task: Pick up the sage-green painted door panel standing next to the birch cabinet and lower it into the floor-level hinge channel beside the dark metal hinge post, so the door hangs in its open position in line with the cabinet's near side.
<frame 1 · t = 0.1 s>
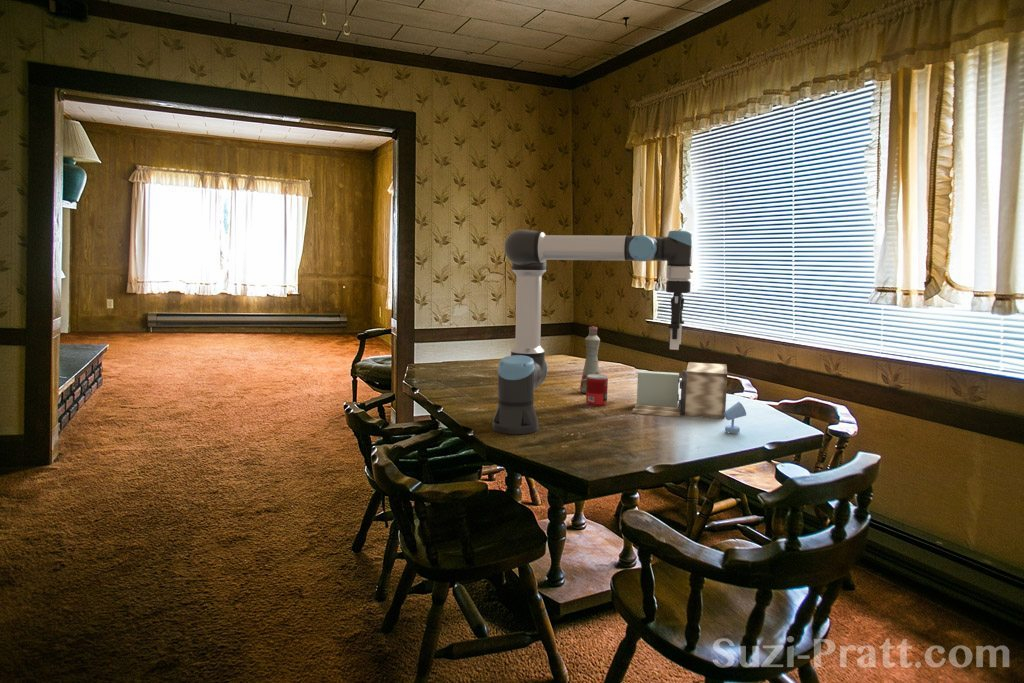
hand: (675, 346, 212), 28 cm above the table, fingers open, 13 cm apart
bottle: (590, 393, 275), on the table
canned food: (596, 404, 254), on the table
cabinet: (704, 410, 246), on the table
spotlight: (733, 432, 216), on the table
door: (657, 406, 252), on the table
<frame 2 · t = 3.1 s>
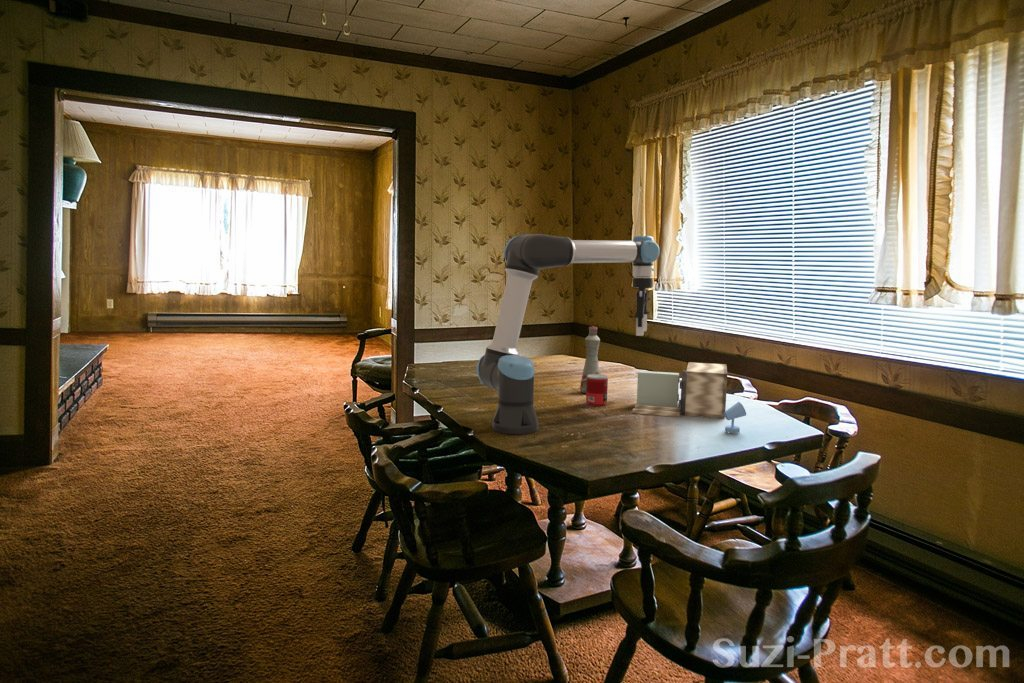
hand: (641, 333, 252), 27 cm above the table, fingers open, 13 cm apart
nothing on the table moved.
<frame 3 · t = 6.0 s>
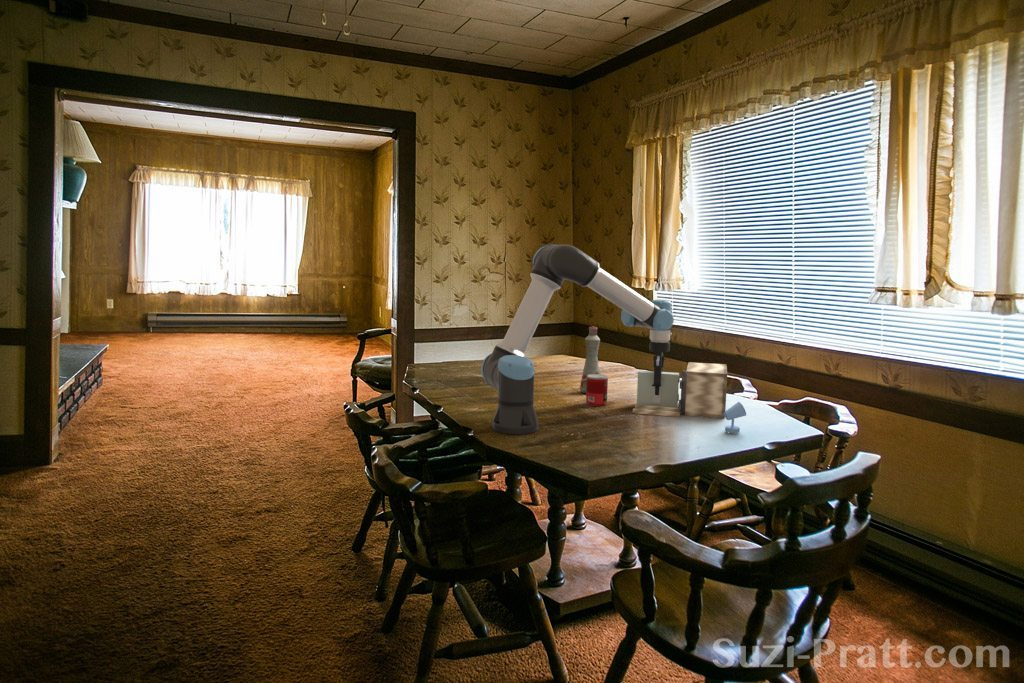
hand: (657, 401, 251), 2 cm above the table, fingers closed on door, 4 cm apart
door: (657, 406, 252), on the table, touching gripper
everything else where it was.
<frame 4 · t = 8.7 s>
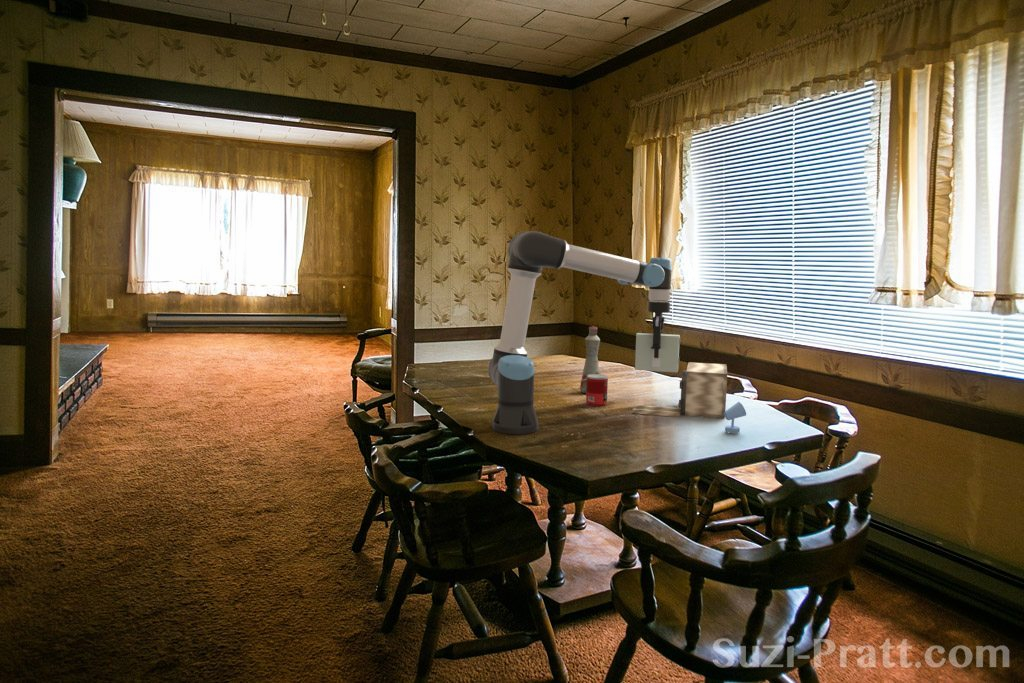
hand: (656, 365, 239), 17 cm above the table, fingers closed on door, 4 cm apart
door: (656, 370, 239), point 16 cm above the table, touching gripper
everything else where it was.
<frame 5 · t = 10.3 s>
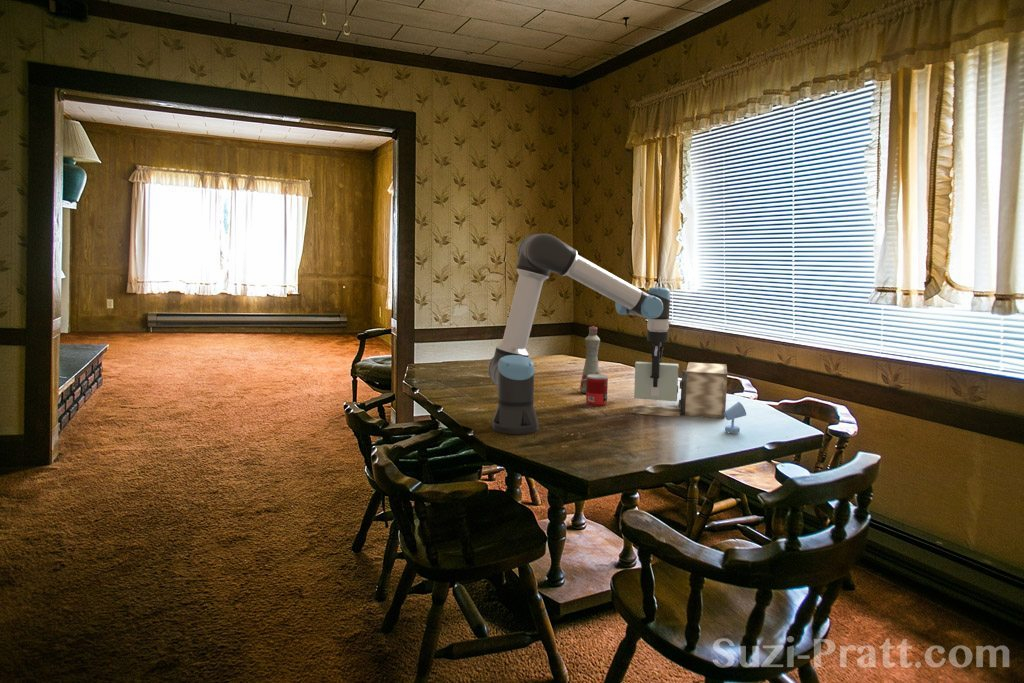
hand: (655, 394, 240), 7 cm above the table, fingers closed on door, 4 cm apart
door: (655, 398, 241), point 5 cm above the table, touching gripper
everything else where it was.
when the fingers open (3 cm above the table, at t = 11.4 s): door drops 1 cm, on the table.
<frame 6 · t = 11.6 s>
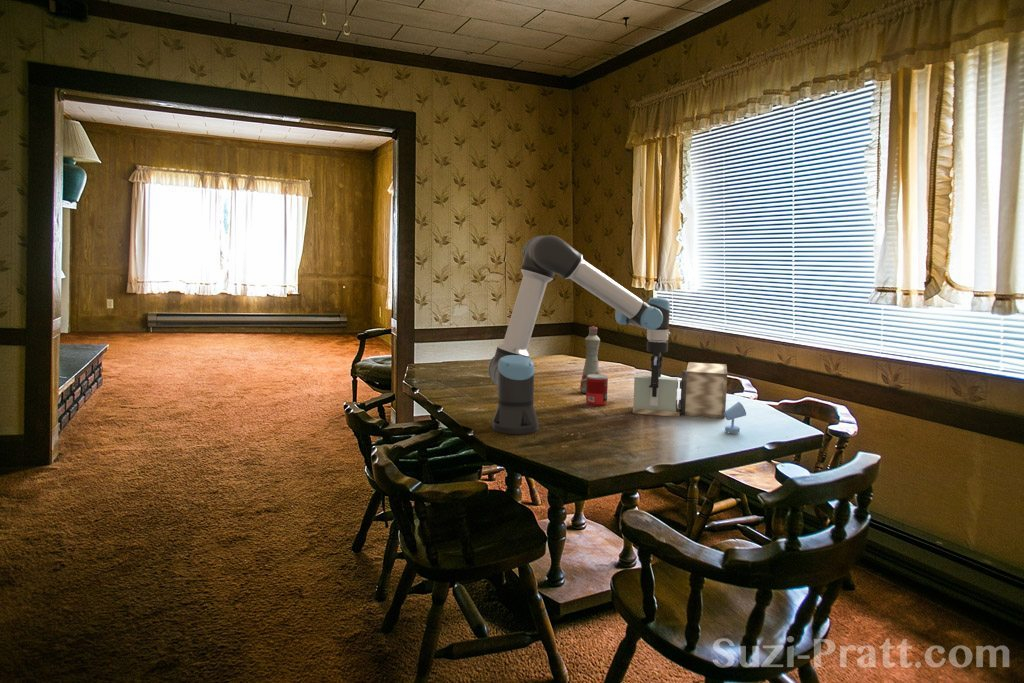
hand: (654, 403, 241), 4 cm above the table, fingers open, 7 cm apart
door: (654, 412, 241), on the table
everything else where it was.
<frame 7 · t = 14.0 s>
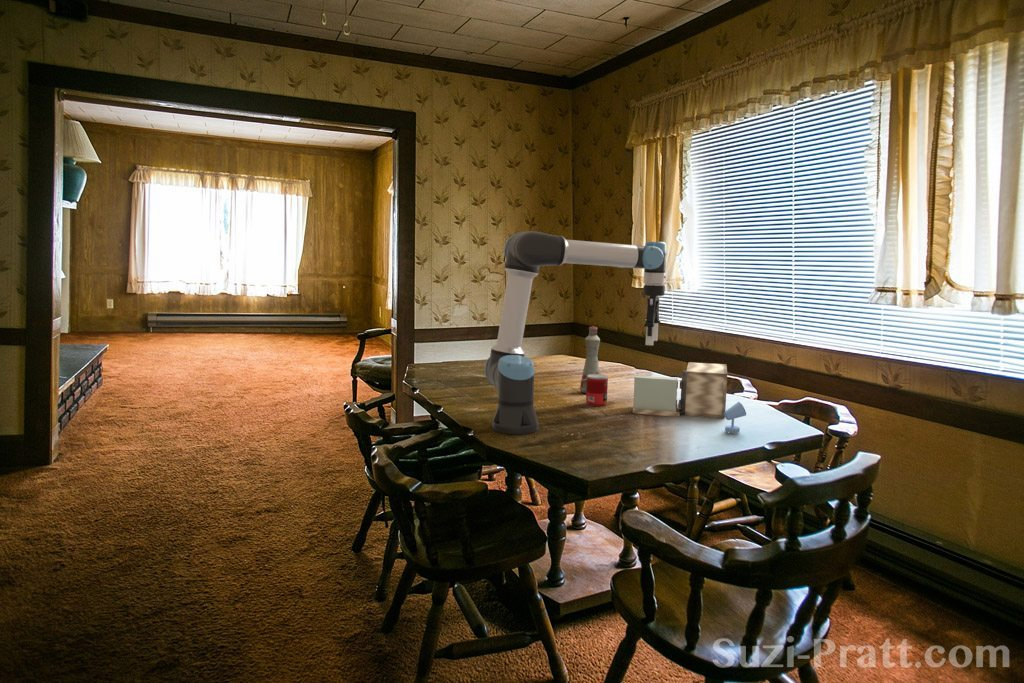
hand: (651, 342, 242), 25 cm above the table, fingers open, 13 cm apart
nothing on the table moved.
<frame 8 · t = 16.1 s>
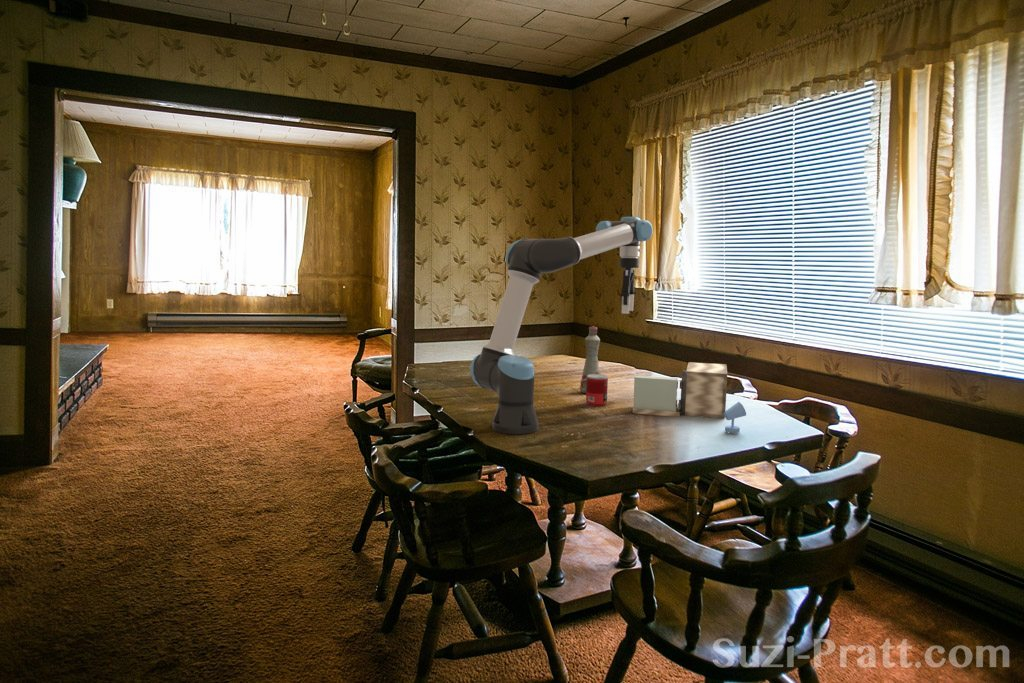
hand: (627, 312, 259), 35 cm above the table, fingers open, 13 cm apart
nothing on the table moved.
at the end: door 0.0 cm from the target spot on the cabinet, point 0.0 cm above the cabinet's base; door tilted 0°; the gripper is holding nothing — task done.
